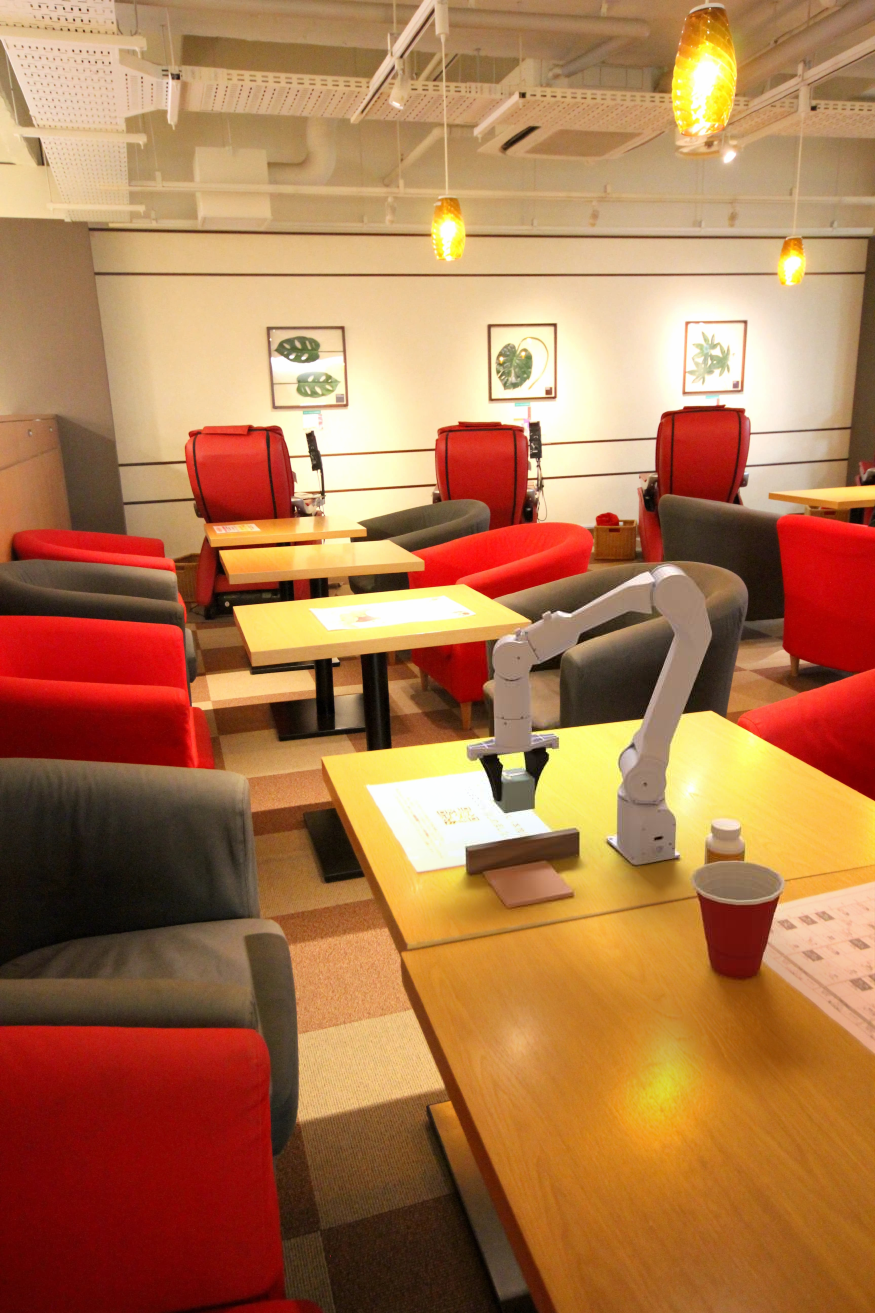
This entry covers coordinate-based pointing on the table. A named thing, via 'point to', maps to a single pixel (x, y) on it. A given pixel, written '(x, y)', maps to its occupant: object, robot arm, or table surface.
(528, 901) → the terracotta tile
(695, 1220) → the table surface
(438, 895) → the table surface
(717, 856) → the supplement bottle
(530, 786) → the lettered cube
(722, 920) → the plastic cup
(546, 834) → the walnut plank
